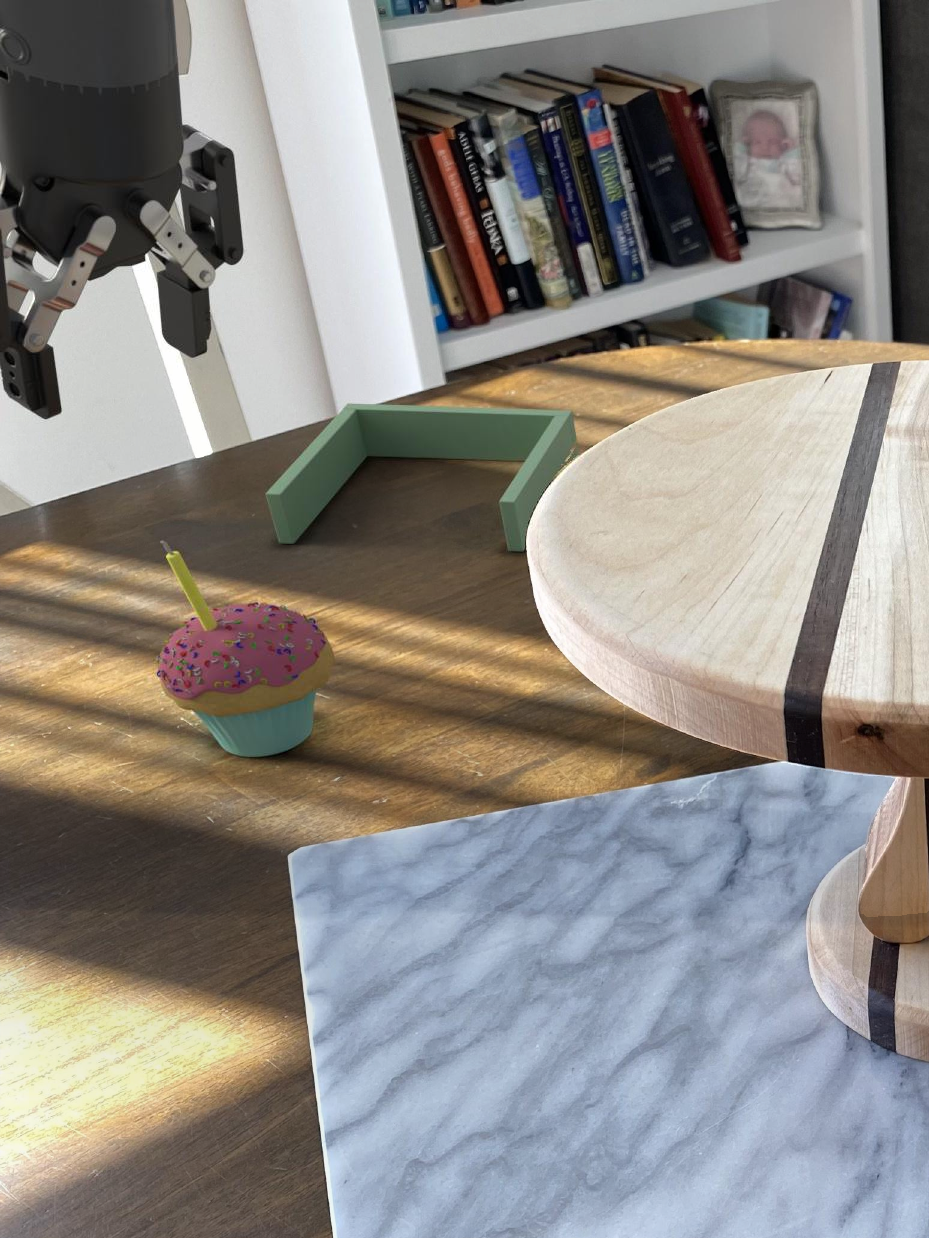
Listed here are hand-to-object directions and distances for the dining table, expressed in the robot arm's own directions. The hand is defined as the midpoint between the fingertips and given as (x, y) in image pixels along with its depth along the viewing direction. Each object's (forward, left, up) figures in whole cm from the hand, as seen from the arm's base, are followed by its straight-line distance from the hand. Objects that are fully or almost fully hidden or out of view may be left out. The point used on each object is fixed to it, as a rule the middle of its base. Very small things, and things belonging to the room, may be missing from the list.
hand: (114, 378), depth 81 cm
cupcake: (+1, -3, -19) cm, 20 cm away
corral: (+22, +18, -19) cm, 34 cm away
